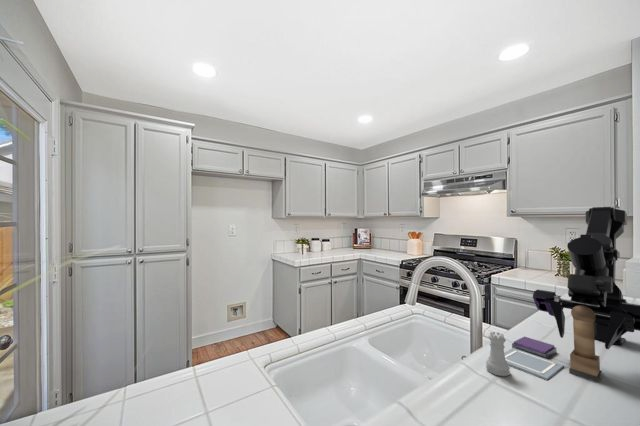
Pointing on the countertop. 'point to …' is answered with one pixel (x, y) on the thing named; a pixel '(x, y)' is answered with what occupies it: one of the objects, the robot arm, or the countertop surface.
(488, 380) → the countertop surface
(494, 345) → the rook chess piece
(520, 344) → the ink pad
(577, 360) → the wooden ball finial
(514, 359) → the marked card
